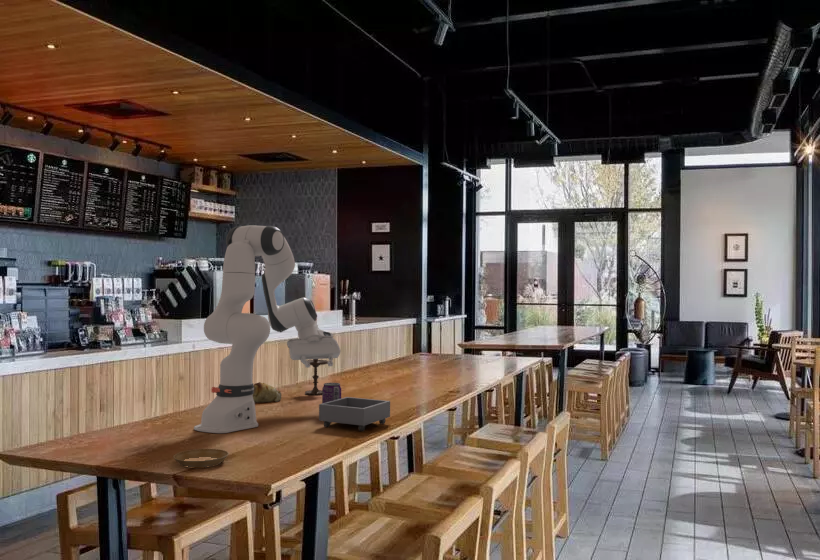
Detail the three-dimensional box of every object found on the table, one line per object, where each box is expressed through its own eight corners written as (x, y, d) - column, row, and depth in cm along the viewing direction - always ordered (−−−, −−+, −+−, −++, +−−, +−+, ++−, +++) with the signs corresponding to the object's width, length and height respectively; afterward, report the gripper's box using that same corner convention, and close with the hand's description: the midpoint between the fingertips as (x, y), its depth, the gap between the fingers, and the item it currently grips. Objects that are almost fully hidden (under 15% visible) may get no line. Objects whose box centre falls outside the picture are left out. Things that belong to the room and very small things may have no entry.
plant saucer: (163, 469, 201) (163, 459, 201) (188, 456, 215) (188, 447, 215) (215, 472, 199) (215, 462, 199) (236, 458, 213) (236, 449, 213)
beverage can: (342, 414, 281) (343, 382, 281) (339, 417, 274) (339, 385, 274) (324, 413, 282) (324, 382, 282) (320, 417, 275) (320, 384, 274)
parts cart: (363, 432, 248) (364, 408, 248) (318, 427, 256) (319, 404, 256) (390, 423, 264) (390, 401, 264) (346, 418, 272) (347, 396, 272)
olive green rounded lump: (241, 401, 309) (241, 382, 309) (260, 397, 320) (260, 378, 320) (268, 404, 302) (268, 384, 302) (286, 400, 313) (287, 381, 313)
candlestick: (330, 394, 326) (331, 315, 326) (306, 396, 322) (306, 315, 322) (324, 391, 336) (324, 313, 336) (300, 392, 332) (301, 314, 332)
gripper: (287, 334, 290) (296, 362, 282) (336, 332, 300) (345, 359, 291) (283, 344, 294) (292, 372, 286) (331, 342, 304) (341, 369, 295)
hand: (319, 366), depth 289 cm, fingers open, 8 cm apart
